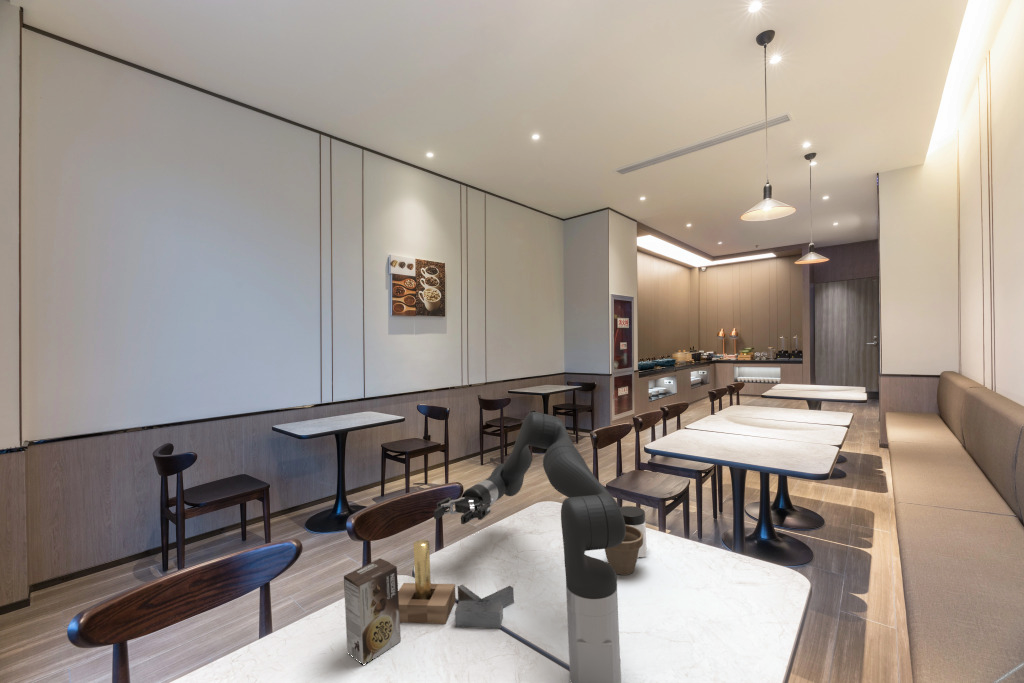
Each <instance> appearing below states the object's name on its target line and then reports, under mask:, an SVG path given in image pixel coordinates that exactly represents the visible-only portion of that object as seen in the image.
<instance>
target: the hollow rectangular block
mask: <svg viewBox="0 0 1024 683" xmlns="http://www.w3.org/2000/svg"><path fill="white" fill-rule="evenodd" d="M456 596H457V595H456V584H455V583H431V599H430V600H420V599H416V593H415V582H404V583H403V584H402V585H401V586H400V588H398V597H399V616H400V623H408V624H409V623H410V624H411V623H413V624H440V625H444V624H445V625H446V624H447V622H448V620H449V618H450V615H451V612H452V610H453V608H454V606H455V603H456V600H457V599H456Z"/></svg>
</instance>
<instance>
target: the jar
mask: <svg viewBox="0 0 1024 683" xmlns="http://www.w3.org/2000/svg"><path fill="white" fill-rule="evenodd" d="M619 507H620V506H619ZM620 510H621V512H622V514H623V517H624V521H625V525H629V526H632V527H635V528H637V529H639V530H640V531H641V532H642V533H643V544H642V546H641V547H640V548H639V552H638V557H637V559H640V558H639V557H643V558H646V557H647V549H648V548H647V529H646V528H647V527H646V526H647V525H646V512H645V510H644V509H643V508H641V507H638V506H633V505H632V506H631V505H624V506H621V507H620Z"/></svg>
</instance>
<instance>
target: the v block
mask: <svg viewBox="0 0 1024 683" xmlns="http://www.w3.org/2000/svg"><path fill="white" fill-rule="evenodd" d="M514 592H515V591H514V587H513V586H511V585H508V586H506V587H504V588H502V589H499V590H497V591H495V592H493V593H491V594H489V595H486V596H485V597H482V598H481V597H480V596H479V595H477V594H476V593H475V592H473V591H472V590H470V589H469V588H468V587H466V586H465V585H464V584H460V585H458V586H457V601H458V603H457V605H456V607H455V610H454V618H455V620H454V621H455V623H454V624H455V628H469V629H470V628H471V629H472V628H473V629H474V628H475V629H497V630H498V629H501V628H502V623H503V619H504V611H503V609H504V608H506V607H508V606H510V605H512V604H514V603H515V597H514V596H515V595H514V594H515V593H514Z"/></svg>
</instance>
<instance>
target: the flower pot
mask: <svg viewBox="0 0 1024 683" xmlns="http://www.w3.org/2000/svg"><path fill="white" fill-rule="evenodd" d="M625 527H626V534H625V538H624V540H623V542H622V543H621V544H620V545H618V546H616V547H612V548H607V549H604V552H605V556H606V560H607V561H606V562H607V563H608V564H610V565H611V566H612V567H613V568H614V570H615V572H616V575H621V576H627V575H631V574H633V573H634V572H635V568H636V564H637V561H638V558H637V557H638V552H639V548H640V547H641V546H642V544H643V533H642V532H641V531H640V530H639V529H637V528H635V527H632V526H629V525H625Z"/></svg>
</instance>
